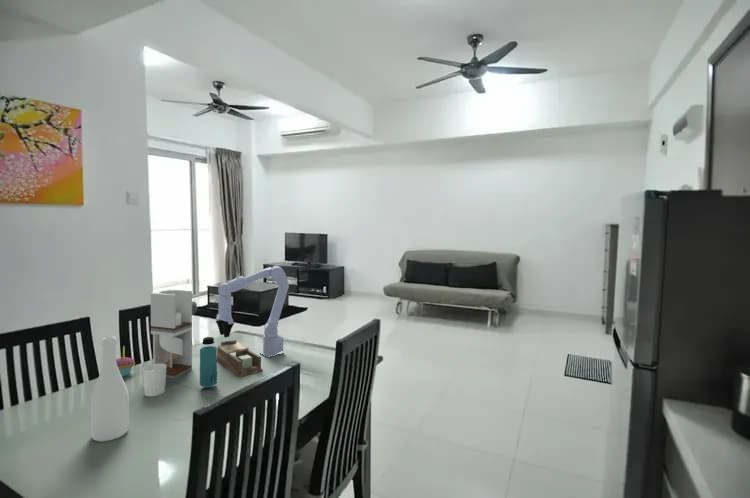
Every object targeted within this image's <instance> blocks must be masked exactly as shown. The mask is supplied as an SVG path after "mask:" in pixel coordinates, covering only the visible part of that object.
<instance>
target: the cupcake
mask: <svg viewBox="0 0 750 498" xmlns="http://www.w3.org/2000/svg"><path fill="white" fill-rule="evenodd" d="M125 348H126V347H125V346H123V347H122V357H118V358H116V363H117V367H118V369H119V371H120V374H121V376H122V377H126V376H129V375H130V374H131V371H132V368H133V367H134V366H135V365H136V362H135V359H133V358H132V357H126V353H125V351H126V350H125Z"/></svg>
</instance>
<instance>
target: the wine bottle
mask: <svg viewBox="0 0 750 498" xmlns="http://www.w3.org/2000/svg"><path fill="white" fill-rule="evenodd" d="M116 345H117V337H116V336H112V335H110V336H104V337H103V338H102V340H101V347H102V365H101V370H100V373H99V376H98V378H97V381H96V384H95V386H94V389H93V391H92V394H91V397H90V432H91V433H90V436H91V439H92V440H94V441H96V442H110V441H114V440H116V439H119V438H121V437H123V436H124V435H126V433H127V432H128V431H129V428H130V415H129V414H130V413H129V412H130V405H129V403H130V402H129V397H130V396H129V389H128V387H127V385H126V383H125V380H124V379H123V376H121V374H120V371H119V369H118V367H117V363H116V359H117V347H116Z"/></svg>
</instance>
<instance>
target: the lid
mask: <svg viewBox="0 0 750 498" xmlns="http://www.w3.org/2000/svg"><path fill="white" fill-rule="evenodd" d="M217 348H219V349H221V350H222V351H224V352H225V353H227V354H233V353H236V352H239V351H243V350H250V349H249V348H250V347H249V346H247V345H245V344H243V343H241V342H240V341H237V340H236V339H231V340H227V341H226V340H225V341H220V345H217Z"/></svg>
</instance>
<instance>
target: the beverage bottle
mask: <svg viewBox="0 0 750 498" xmlns="http://www.w3.org/2000/svg"><path fill="white" fill-rule="evenodd" d="M214 343H215V337H213V336H207V337H203V338H202V344H203V346H202V347H201V348H200V349H199V385H200V387H203V388H210V387H214V386H216V385H217V383H218V362H217V348H218V347H216V346H215V345H214Z"/></svg>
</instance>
